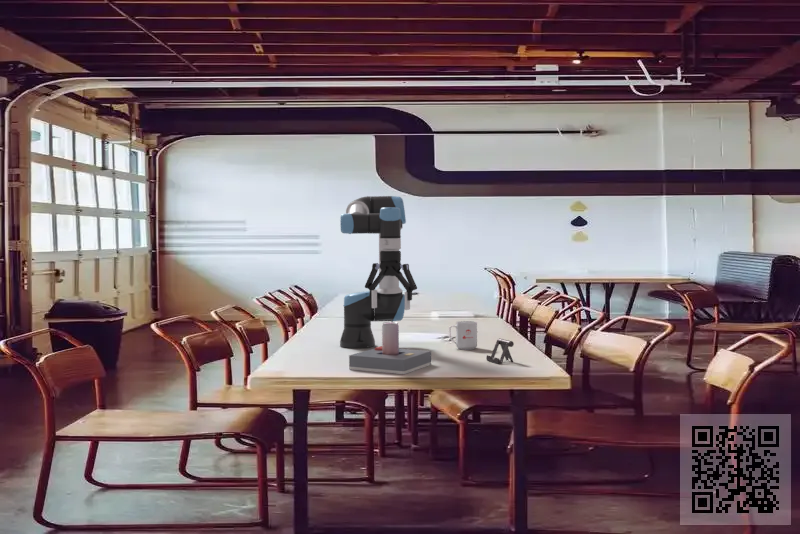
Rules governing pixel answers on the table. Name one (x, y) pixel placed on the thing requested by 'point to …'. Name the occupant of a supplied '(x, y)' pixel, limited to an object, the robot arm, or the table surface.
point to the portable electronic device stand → (506, 353)
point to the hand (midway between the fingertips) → (390, 308)
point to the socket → (390, 361)
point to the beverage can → (390, 338)
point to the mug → (465, 335)
